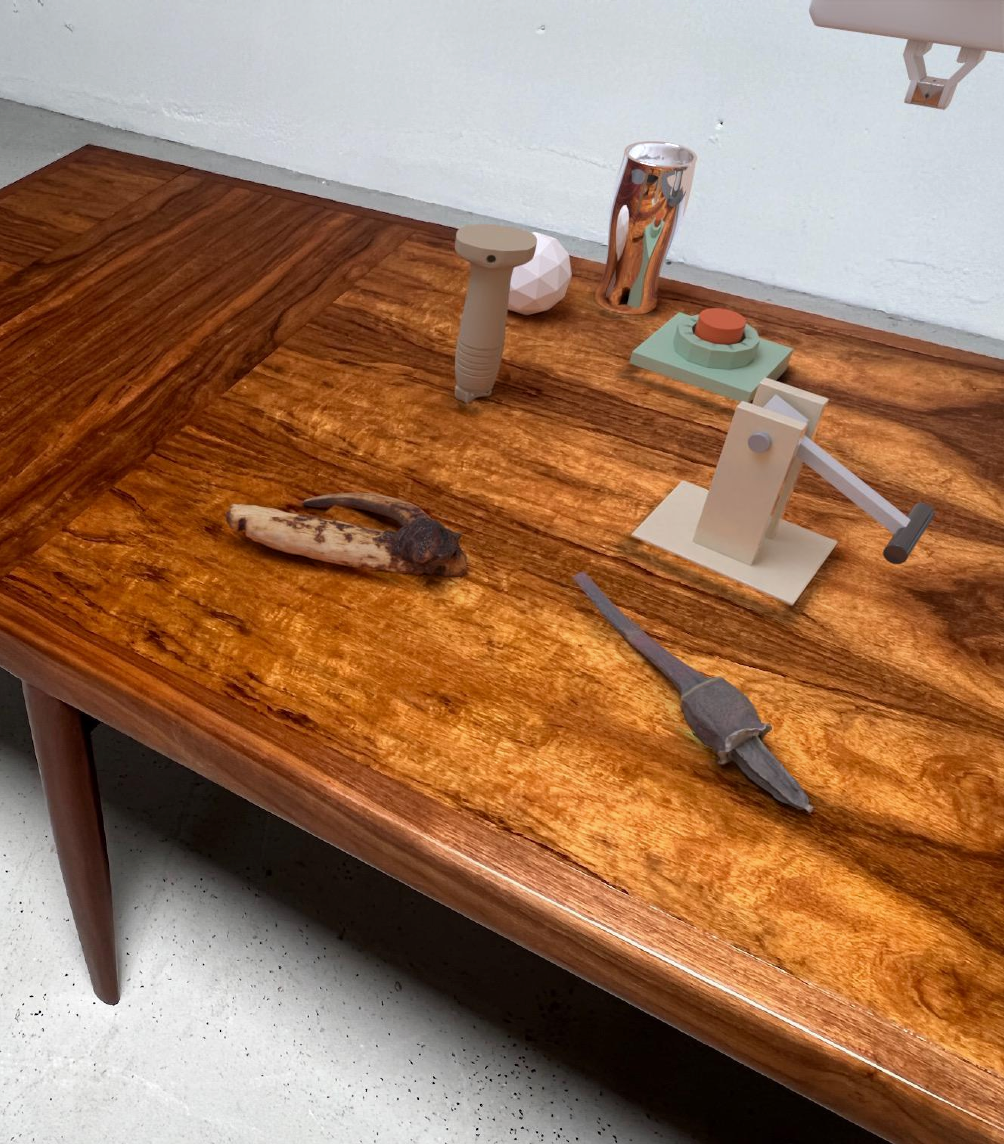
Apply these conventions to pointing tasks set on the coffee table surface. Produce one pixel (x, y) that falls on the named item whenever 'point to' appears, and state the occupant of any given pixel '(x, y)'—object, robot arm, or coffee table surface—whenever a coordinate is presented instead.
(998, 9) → the robot arm
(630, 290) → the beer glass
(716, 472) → the lever stand
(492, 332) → the handle
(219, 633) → the coffee table surface
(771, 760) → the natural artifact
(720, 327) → the button
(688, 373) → the button housing
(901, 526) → the tap lever
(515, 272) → the geometric ball
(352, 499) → the lashed bone hook
